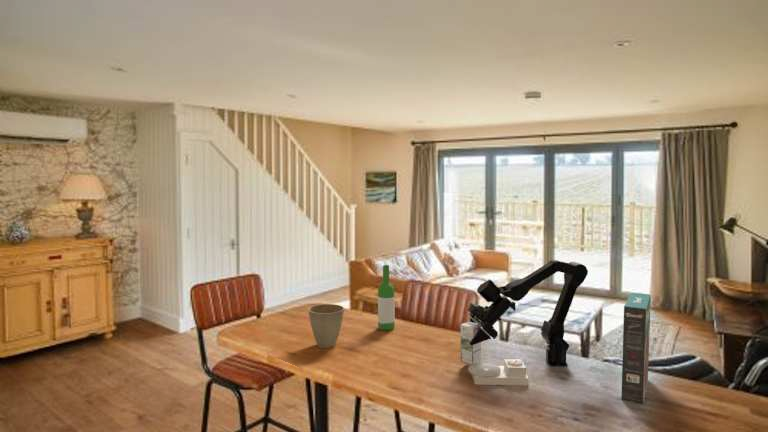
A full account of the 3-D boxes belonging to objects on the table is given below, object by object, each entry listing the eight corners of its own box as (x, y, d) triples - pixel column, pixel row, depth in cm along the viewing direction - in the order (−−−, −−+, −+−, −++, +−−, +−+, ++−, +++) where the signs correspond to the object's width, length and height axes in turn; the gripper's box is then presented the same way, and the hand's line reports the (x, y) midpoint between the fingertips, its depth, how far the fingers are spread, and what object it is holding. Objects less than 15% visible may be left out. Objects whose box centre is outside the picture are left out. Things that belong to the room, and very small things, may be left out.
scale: (521, 372, 176) (521, 356, 176) (528, 385, 165) (528, 368, 165) (466, 371, 177) (466, 355, 177) (470, 384, 167) (470, 367, 166)
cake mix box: (642, 404, 151) (645, 308, 149) (621, 399, 154) (624, 306, 152) (648, 379, 170) (650, 294, 168) (628, 376, 173) (631, 292, 171)
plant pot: (302, 348, 203) (301, 311, 202) (319, 338, 217) (319, 302, 216) (334, 353, 197) (333, 314, 196) (350, 342, 211) (349, 305, 210)
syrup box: (481, 361, 183) (481, 323, 182) (473, 366, 179) (473, 327, 178) (469, 358, 187) (468, 320, 186) (460, 362, 183) (459, 324, 182)
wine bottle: (394, 331, 227) (394, 267, 225) (377, 331, 227) (377, 267, 225) (394, 326, 234) (394, 264, 232) (378, 326, 235) (377, 264, 233)
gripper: (474, 290, 191) (446, 319, 190) (489, 302, 172) (458, 334, 172) (493, 309, 192) (466, 338, 192) (510, 323, 173) (480, 355, 173)
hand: (467, 340), depth 182 cm, fingers closed on syrup box, 8 cm apart
